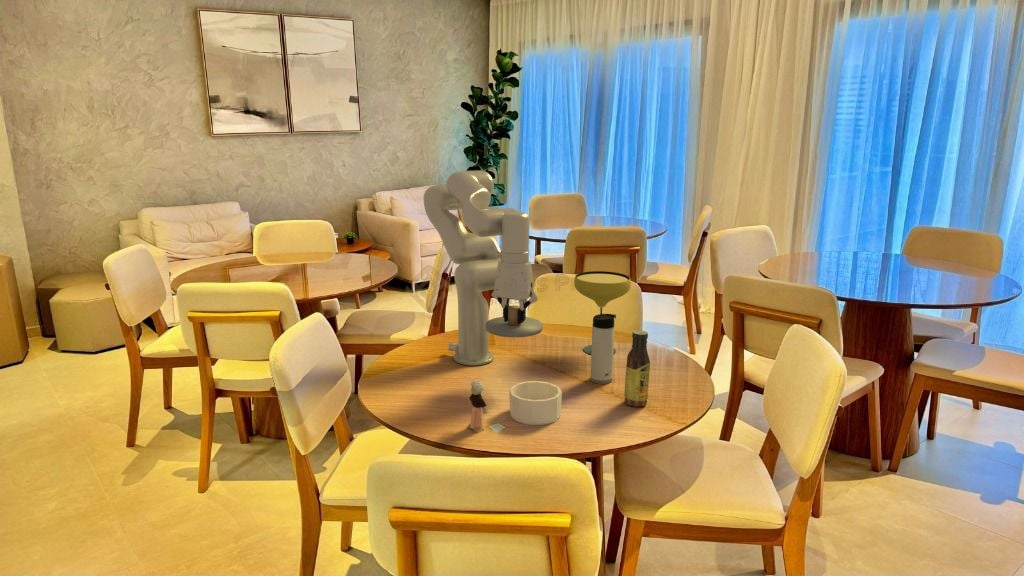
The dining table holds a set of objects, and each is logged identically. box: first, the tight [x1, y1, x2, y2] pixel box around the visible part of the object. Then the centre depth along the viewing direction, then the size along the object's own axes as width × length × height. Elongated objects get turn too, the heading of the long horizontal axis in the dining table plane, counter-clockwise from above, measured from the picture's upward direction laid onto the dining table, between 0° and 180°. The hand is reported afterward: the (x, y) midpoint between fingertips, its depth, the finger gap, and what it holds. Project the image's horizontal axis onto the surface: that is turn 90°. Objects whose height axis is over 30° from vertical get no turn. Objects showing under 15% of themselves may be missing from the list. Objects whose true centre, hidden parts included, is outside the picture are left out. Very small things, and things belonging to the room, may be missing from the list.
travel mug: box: [590, 313, 617, 385], centre depth 192 cm, size 6×7×20 cm
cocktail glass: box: [573, 270, 632, 356], centre depth 217 cm, size 18×18×25 cm
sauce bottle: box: [624, 330, 651, 408], centre depth 177 cm, size 7×6×20 cm
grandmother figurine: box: [467, 379, 488, 433], centre depth 162 cm, size 8×4×13 cm, turn 45°
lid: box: [486, 305, 544, 338], centre depth 186 cm, size 16×16×6 cm
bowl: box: [509, 380, 563, 426], centre depth 171 cm, size 13×13×6 cm
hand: (514, 321), depth 186 cm, fingers closed on lid, 3 cm apart
